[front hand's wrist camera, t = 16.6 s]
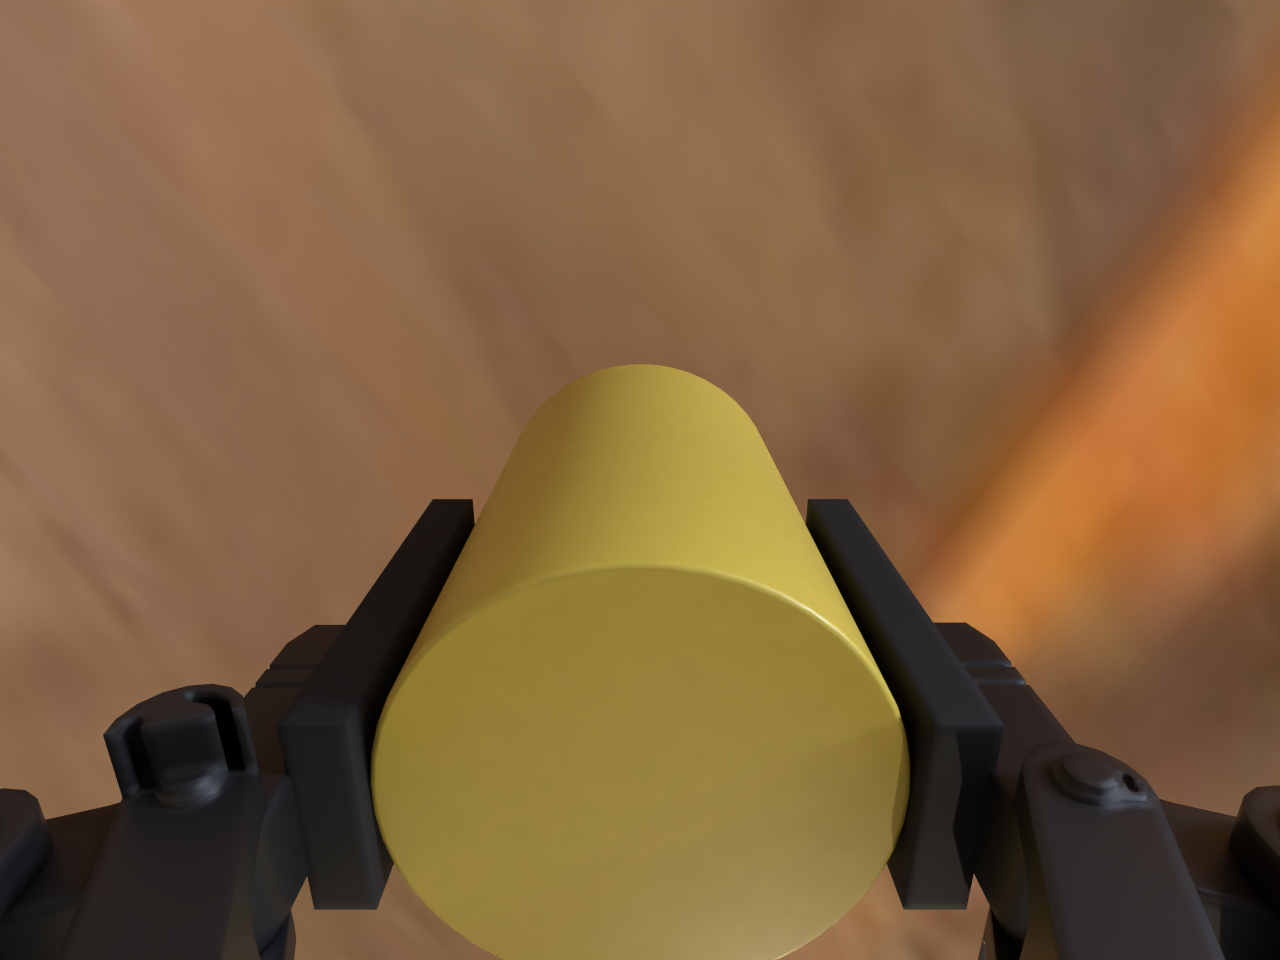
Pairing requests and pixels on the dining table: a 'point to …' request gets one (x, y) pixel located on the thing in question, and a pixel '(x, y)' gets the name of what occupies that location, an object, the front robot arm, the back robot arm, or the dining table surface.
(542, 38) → the dining table surface
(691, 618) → the canister
